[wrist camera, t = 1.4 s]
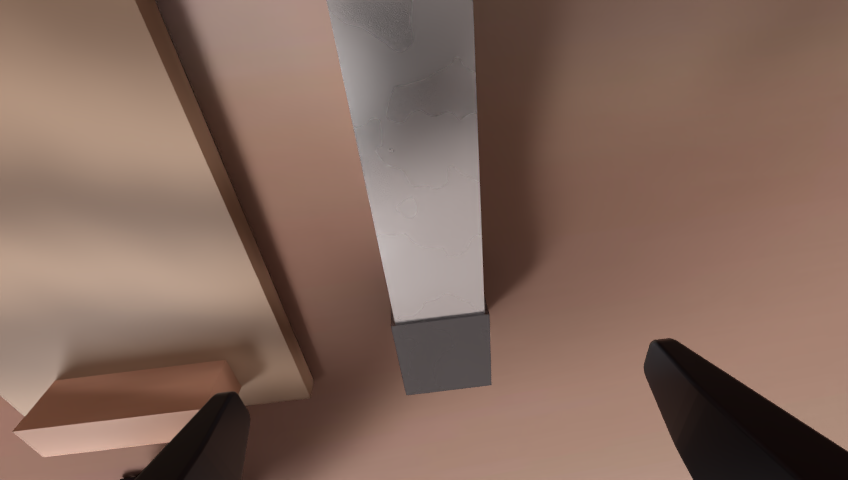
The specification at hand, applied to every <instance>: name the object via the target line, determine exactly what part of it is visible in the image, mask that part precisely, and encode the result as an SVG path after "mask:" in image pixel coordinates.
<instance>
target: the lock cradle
mask: <svg viewBox="0 0 848 480" xmlns="http://www.w3.org/2000/svg"><path fill="white" fill-rule="evenodd" d="M313 383H314V380H313V378H312V376H311V373H310V371H309V369H308V366H307V364H306V361H305V359H304V357H303V354H302V352H301V349H300V347H299V345H298V342H297V340H296V337H295V335H294V333H293V330H292V328H291V325H290V323H289V321H288V318H287V316H286V313H285V311H284V309H283V306H282V304H281V302H280V299H279V297H278V294H277V292H276V290H275V287H274V285H273V282H272V280H271V278H270V275H269V273H268V270H267V268H266V266H265V263H264V261H263V258H262V256H261V254H260V251H259V249H258V246H257V244H256V242H255V239H254V237H253V234H252V232H251V230H250V227H249V225H248V223H247V220H246V218H245V215H244V213H243V211H242V208H241V206H240V203H239V201H238V199H237V196H236V194H235V191H234V189H233V187H232V184H231V182H230V179H229V177H228V175H227V172H226V170H225V167H224V165H223V163H222V160H221V158H220V156H219V153H218V151H217V148H216V146H215V144H214V141H213V139H212V136H211V134H210V132H209V129H208V127H207V124H206V122H205V120H204V117H203V115H202V112H201V110H200V108H199V105H198V103H197V100H196V98H195V96H194V93H193V91H192V89H191V86H190V84H189V81H188V79H187V77H186V74H185V72H184V69H183V67H182V65H181V62H180V60H179V57H178V55H177V53H176V50H175V48H174V45H173V43H172V41H171V38H170V36H169V33H168V31H167V29H166V26H165V24H164V21H163V19H162V17H161V14H160V12H159V10H158V7H157V5H156V2H155V0H0V396H1V397H3V398H4V399H5V400H6V401H7V402H8V403H9V404H11V405H12V406H13V407H14V408H15V409H16V410H17V411H19V412H20V413H21V414H22V415H23V416H24V418H23V420H22V421H21V422H20V423H19V424H18V426H17V427H16V428H15V429H14V430H13V433H14V434H16V435H17V436H18V437H19V438H21V439H22V440H23V441H24V442H25V443H27V444H28V445H29V446H30V447H31V448H33V449H34V450H35V451H36V452H38V453H39V454H40V455H41V456H42V457H49V456H58V455H66V454H75V453H83V452H92V451H100V450H108V449H117V448H125V447H134V446H142V445H151V444H159V443H168V442H170V441H171V440H172V439H173V438H174V437H175V436H176V435H177V434H178V433H179V431H180V430H181V429H182V428H183V427H184V426H185V425H186V424H187V423H188V422H189V421H190V420H191V419H192V418H193V416H194V415H195V414H196V413H197V412H198V411H199V410H200V409H201V408H202V407H203V406H204V405H205V404H206V403H207V402H208V400H209V399H210V398H211V397H212V396H214V395H215V394H217V393H221V392H229V391H235V392H236V393H238V395H239V396H240V398H241V400H242V401H243V403H244V405H245V406H249V405H257V404H265V403H274V402H282V401H291V400H299V399H307V398H311V393H312V388H313Z"/></svg>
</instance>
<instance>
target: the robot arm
mask: <svg viewBox="0 0 848 480" xmlns="http://www.w3.org/2000/svg"><path fill="white" fill-rule="evenodd" d="M644 373H645V376H646V378H647V381H648V383H649V386H650V388H651V390H652V393H653V395H654V397H655V400H656V402H657V405H658V407H659V409H660V412H661V414H662V417H663V419H664V421H665V424H666V426H667V428H668V431H669V433H670V435H671V438H672V440H673V442H674V444H675V446H676V448H677V450H678V452H679V454H680V456H681V458H682V460H683V462H684V464H685V465H686V467H687V469H688V471H689V473H690V475H691V476H692V478H693V480H848V451H846V450H845V449H843V448H842V447H840V446H839V445H837V444H836V443H834V442H832V441H831V440H829V439H828V438H826V437H825V436H823V435H822V434H820V433H819V432H817V431H815V430H814V429H812V428H811V427H809V426H808V425H806V424H805V423H803V422H802V421H800V420H798V419H797V418H795V417H794V416H792V415H791V414H789V413H788V412H786V411H785V410H783V409H781V408H780V407H778V406H777V405H775V404H774V403H772V402H771V401H769V400H768V399H766V398H764V397H763V396H761V395H760V394H758V393H757V392H755V391H754V390H752V389H751V388H749V387H747V386H746V385H744V384H743V383H741V382H740V381H738V380H737V379H735V378H734V377H732V376H730V375H729V374H727V373H726V372H724V371H723V370H721V369H720V368H718V367H717V366H715V365H713V364H712V363H710V362H709V361H707V360H706V359H704V358H703V357H701V356H700V355H698V354H696V353H695V352H693V351H692V350H690V349H689V348H687V347H686V346H684V345H683V344H681V343H679V342H678V341H676V340H674V339H671V338H666V339H658V340H653V341H652V342H651V343H650V345H649V349H648V352H647V355H646V359H645V362H644ZM249 427H250V414H249V412H248V410H247V408H246V406H245V405H244V403H243V401H242V400H241V398H240V396H239V395H238V393H236V392H235V391H229V392H221V393H217V394H215V395H214V396H212V397H211V398H210V399H209V400H208V402H207V403H206V404H205V405H204V406H203V407H202V408H201V409H200V410H199V411H198V412H197V413H196V414H195V415H194V416H193V418H192V419H191V420H190V421H189V422H188V423H187V424H186V425H185V426H184V427H183V428H182V429H181V430H180V431H179V433H178V434H177V435H176V436H175V437H174V438H173V439H172V440H171V441H170V442H169V443H168V444H167V445H166V446H165V448H164V449H163V450H162V451H161V452H160V453H159V454H158V455H157V456H156V457H155V458H154V459H153V460H152V461H151V462H150V464H149V465H148V466H147V467H146V468H145V469H144V470H143V471H142V472H141V473H140V474H139V475H138V476H137V477H132V478H124V479H120V480H242V473H243V467H244V460H245V453H246V447H247V440H248V434H249Z"/></svg>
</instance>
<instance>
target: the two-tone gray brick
mask: <svg viewBox="0 0 848 480" xmlns="http://www.w3.org/2000/svg"><path fill="white" fill-rule="evenodd" d="M326 1H327V5H328V10H329V15H330V19H331V24H332V29H333V34H334V38H335V43H336V48H337V52H338V57H339V62H340V66H341V71H342V76H343V81H344V85H345V90H346V95H347V99H348V104H349V109H350V113H351V118H352V123H353V128H354V132H355V137H356V142H357V146H358V151H359V156H360V160H361V165H362V170H363V175H364V179H365V184H366V189H367V193H368V198H369V203H370V207H371V212H372V217H373V222H374V226H375V231H376V236H377V240H378V245H379V250H380V254H381V259H382V264H383V269H384V273H385V278H386V283H387V287H388V292H389V297H390V301H391V328H392V333H393V337H394V342H395V346H396V351H397V355H398V360H399V364H400V369H401V373H402V378H403V382H404V387H405V391H406V395H413V394H421V393H430V392H438V391H446V390H455V389H463V388H471V387H480V386H488V385H491V354H490V319H489V311H488V308H487V304H486V300H485V297H484V283H483V256H482V229H481V202H480V175H479V148H478V122H477V95H476V68H475V41H474V14H473V0H326Z"/></svg>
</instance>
